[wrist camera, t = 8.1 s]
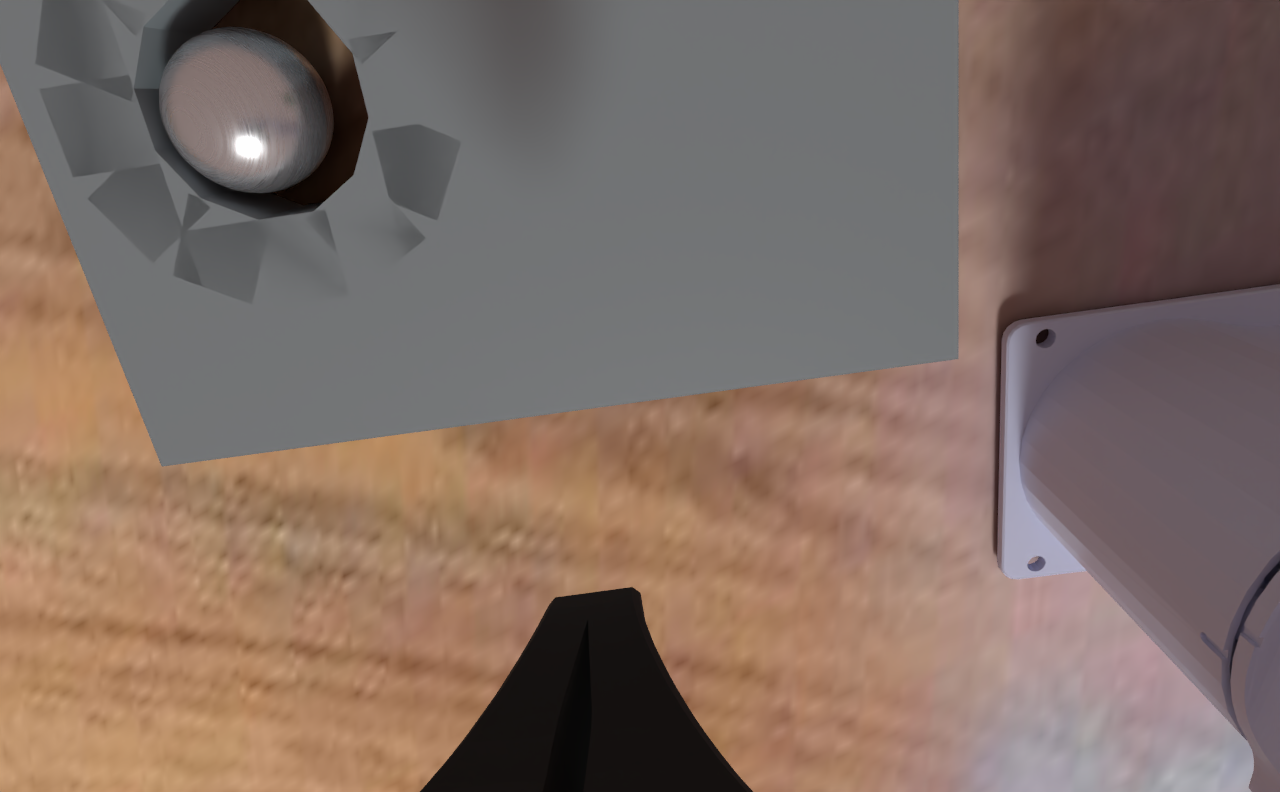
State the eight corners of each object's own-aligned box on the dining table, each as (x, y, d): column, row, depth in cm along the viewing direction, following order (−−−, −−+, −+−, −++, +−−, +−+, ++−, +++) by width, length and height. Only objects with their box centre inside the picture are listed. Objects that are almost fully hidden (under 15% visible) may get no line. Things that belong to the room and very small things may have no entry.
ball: (93, 37, 16) (231, 18, 19) (155, 206, 18) (273, 166, 21) (217, 37, 15) (346, 17, 17) (270, 219, 17) (380, 175, 19)
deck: (910, -439, 16) (958, -533, 13) (923, 329, 21) (958, 358, 19) (-43, -262, 17) (-154, -320, 14) (211, 427, 22) (161, 466, 20)
